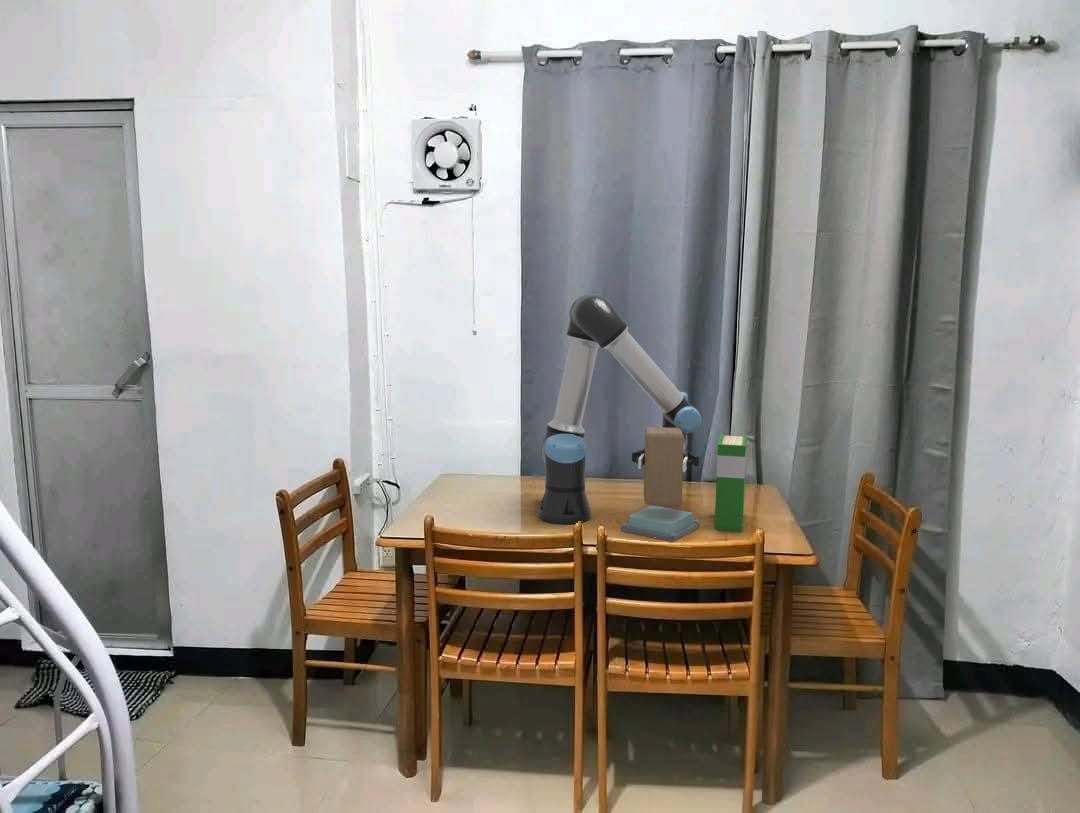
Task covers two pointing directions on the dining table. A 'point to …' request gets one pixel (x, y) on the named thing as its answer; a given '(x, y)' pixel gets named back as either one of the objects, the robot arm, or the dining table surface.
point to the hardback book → (730, 482)
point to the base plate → (661, 523)
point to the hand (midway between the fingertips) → (661, 465)
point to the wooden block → (663, 466)
